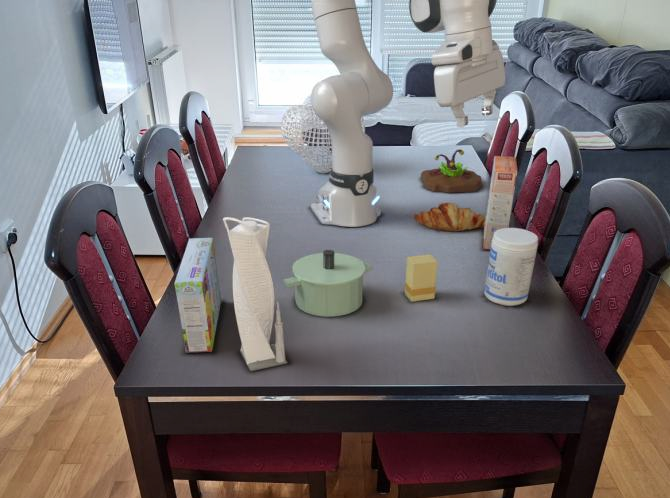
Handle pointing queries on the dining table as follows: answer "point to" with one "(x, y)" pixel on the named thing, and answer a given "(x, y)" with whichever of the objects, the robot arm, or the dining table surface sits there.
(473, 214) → the croissant
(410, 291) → the butter
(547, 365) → the dining table surface
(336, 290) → the pot
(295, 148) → the heart
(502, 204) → the cracker box
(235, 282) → the skyscraper
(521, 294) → the supplement tub
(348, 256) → the pot lid
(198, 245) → the snack box
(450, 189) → the plant
